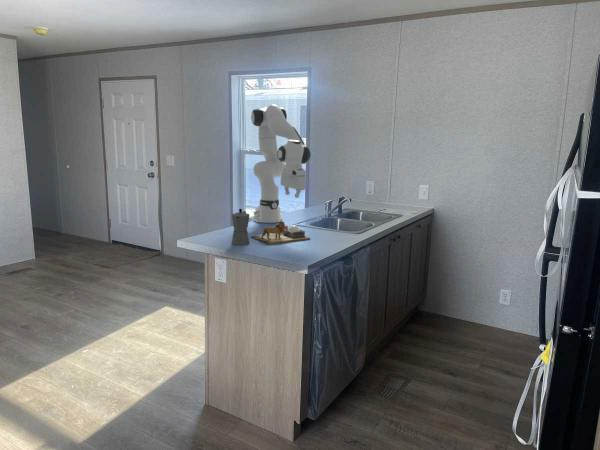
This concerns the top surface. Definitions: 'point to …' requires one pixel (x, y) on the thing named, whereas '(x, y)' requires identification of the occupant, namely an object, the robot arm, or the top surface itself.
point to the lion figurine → (274, 230)
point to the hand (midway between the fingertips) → (292, 196)
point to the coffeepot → (240, 228)
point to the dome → (293, 228)
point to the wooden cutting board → (282, 237)
